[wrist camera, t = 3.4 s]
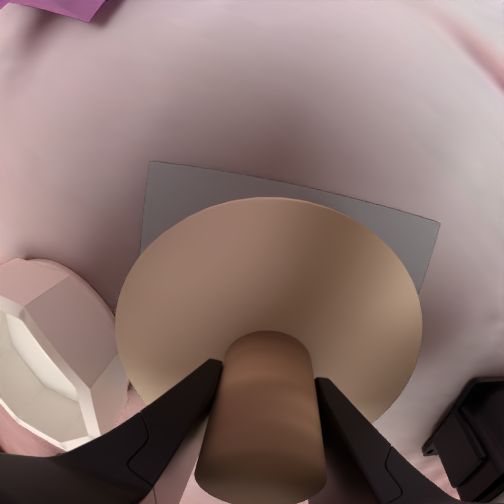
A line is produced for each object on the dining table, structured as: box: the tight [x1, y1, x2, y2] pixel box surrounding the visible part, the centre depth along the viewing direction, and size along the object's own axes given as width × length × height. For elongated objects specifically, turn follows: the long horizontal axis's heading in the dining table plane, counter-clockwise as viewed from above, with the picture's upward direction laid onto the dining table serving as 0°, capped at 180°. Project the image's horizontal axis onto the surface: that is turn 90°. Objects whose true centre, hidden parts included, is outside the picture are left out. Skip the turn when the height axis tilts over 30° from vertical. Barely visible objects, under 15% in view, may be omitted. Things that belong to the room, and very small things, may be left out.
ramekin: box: [0, 258, 130, 452], centre depth 11 cm, size 9×9×4 cm
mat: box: [140, 161, 440, 295], centre depth 12 cm, size 11×11×1 cm
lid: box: [115, 197, 422, 504], centre depth 7 cm, size 10×10×5 cm
